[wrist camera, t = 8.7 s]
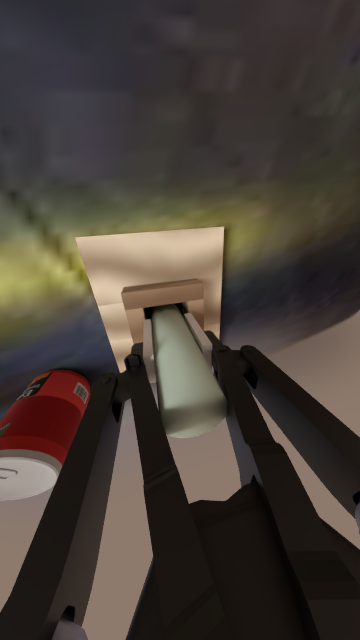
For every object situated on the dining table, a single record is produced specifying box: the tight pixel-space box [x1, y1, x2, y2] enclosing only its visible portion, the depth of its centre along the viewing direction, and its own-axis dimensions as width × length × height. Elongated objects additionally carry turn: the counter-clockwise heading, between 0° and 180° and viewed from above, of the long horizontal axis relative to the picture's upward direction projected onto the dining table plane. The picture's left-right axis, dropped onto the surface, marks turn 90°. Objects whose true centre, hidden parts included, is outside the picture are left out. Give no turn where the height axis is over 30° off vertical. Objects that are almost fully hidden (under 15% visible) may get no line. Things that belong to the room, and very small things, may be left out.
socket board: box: [75, 227, 224, 373], centre depth 20 cm, size 20×16×4 cm
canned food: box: [0, 369, 90, 501], centre depth 19 cm, size 8×8×11 cm
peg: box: [151, 304, 228, 438], centre depth 15 cm, size 4×4×14 cm
